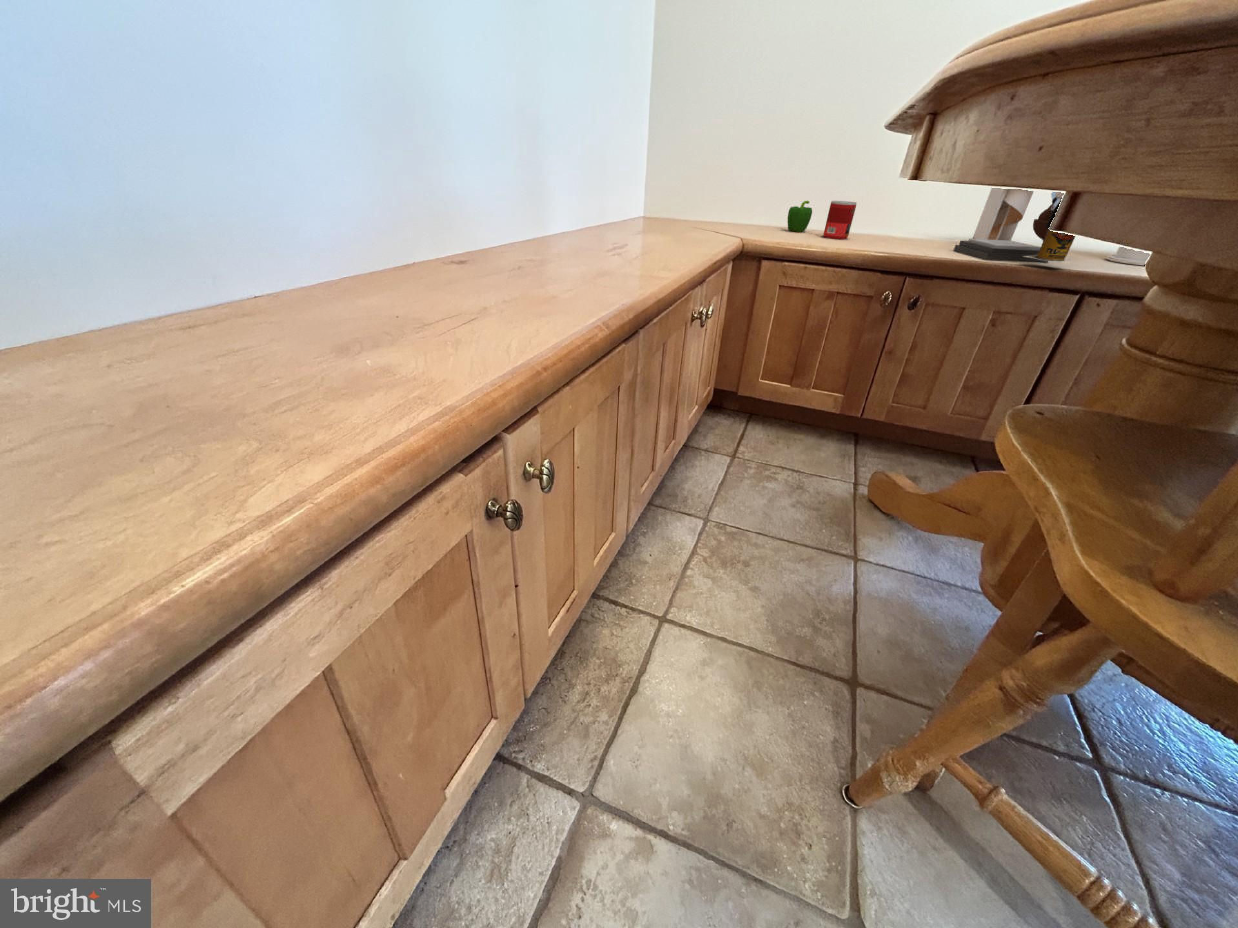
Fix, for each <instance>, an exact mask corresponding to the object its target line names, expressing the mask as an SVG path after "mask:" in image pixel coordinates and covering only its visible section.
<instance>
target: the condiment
mask: <svg viewBox="0 0 1238 928" xmlns="http://www.w3.org/2000/svg"><path fill="white" fill-rule="evenodd" d="M1075 239H1076V236H1073V235H1068V234H1065V233H1058V232H1053V231H1050V230H1049V229H1048V232H1047V234H1046V236H1045V239H1044V241H1043V240H1042V243H1041V246H1040V247H1041V248H1040V250H1039V253H1038V254H1037V255H1032V256H1023V257H1030V258H1035V259H1039V260H1045V261H1048V262H1051V263H1059V262H1060V263H1061V262H1068V261H1071V259H1069V258H1066V257H1067V256H1068V254H1069V251H1070V250H1071V247H1072V245H1073V243H1074V240H1075Z"/></svg>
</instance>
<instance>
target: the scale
mask: <svg viewBox="0 0 1238 928" xmlns="http://www.w3.org/2000/svg"><path fill="white" fill-rule="evenodd" d="M953 252H955V253H960V254H963V255H967V256H971V257H974V258H977V259H981V260H984V261H999V262H1000V261H1001V262H1002V261H1004V262H1021V263H1022V262H1023V263H1024V262H1026V263H1045V264H1047V263H1049V261H1045V260H1039V259H1035V258H1030V257H1023V256H1032V255H1037V254H1038V253H1039V250H1025V249H1002V248H992V247H988V246H984V245H980V244H976V243H972V242H968V240H960V241H959V244H955V245H954V248H953Z"/></svg>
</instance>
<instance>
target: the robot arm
mask: <svg viewBox="0 0 1238 928" xmlns="http://www.w3.org/2000/svg"><path fill="white" fill-rule="evenodd" d="M1063 195H1064V193H1061V192H1053V191H1052V192H1051V194H1050V196H1051V205H1053V206H1052V208H1051V210H1052V212H1051V215H1050V217H1049V219H1048V222H1047V224H1046V227H1047V228H1049V227H1050V224H1051V222H1052V220H1053V218H1054V217H1055V213H1056V212H1057V209H1058V207H1059V204H1060V202H1061V199H1062V196H1063ZM1149 256H1150V254H1149V253H1144V252H1142V251H1135V250H1133V249H1127V248H1124V247H1120V246H1119V247H1118V248H1117V251H1116V252H1115V254H1108V255H1107V256H1106V260H1107V261H1110V262H1114V263H1120V264H1127V265H1135V266H1144V264H1145V262H1146V260H1147V259H1148V257H1149Z"/></svg>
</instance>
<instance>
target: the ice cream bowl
mask: <svg viewBox="0 0 1238 928" xmlns="http://www.w3.org/2000/svg"><path fill="white" fill-rule="evenodd" d="M1052 206H1053V205H1052V204H1050V205H1049V206H1048V207H1047V208H1046V209H1044V210H1043V211H1042V212H1041V213H1040V214H1039V215H1038V218H1034V219H1033V223H1032V230H1033V232H1034V234H1035V235H1036V237H1038V238H1039V239H1040V240H1042V242H1043V241H1044V239H1045V236H1046V234H1047V232H1048V228H1047V227H1046V224H1047V222H1048V219H1049V217H1050V215H1051V212H1052V210H1051V208H1052Z"/></svg>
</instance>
